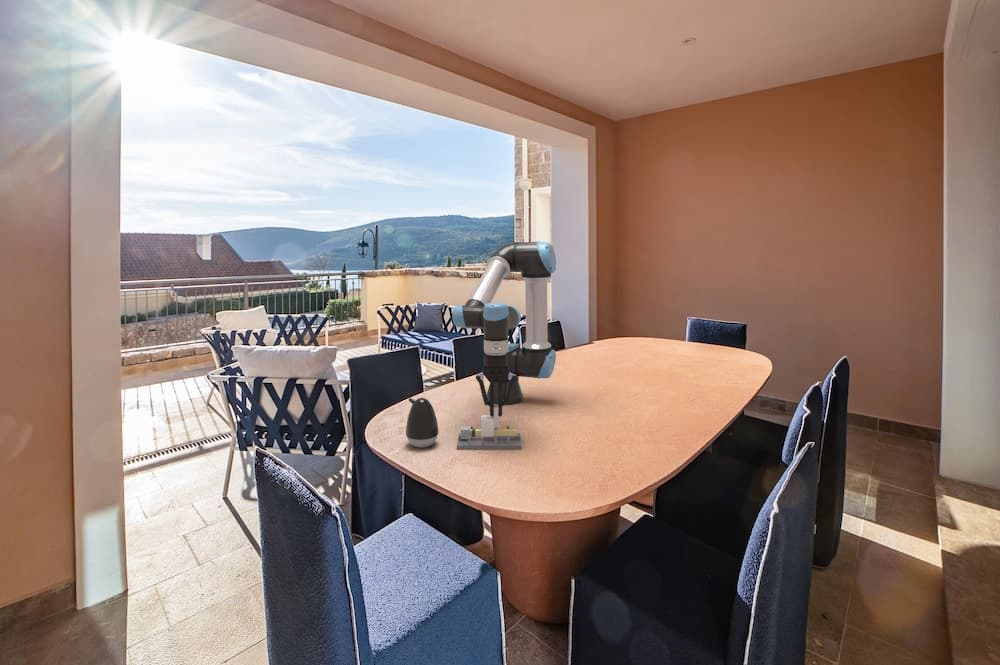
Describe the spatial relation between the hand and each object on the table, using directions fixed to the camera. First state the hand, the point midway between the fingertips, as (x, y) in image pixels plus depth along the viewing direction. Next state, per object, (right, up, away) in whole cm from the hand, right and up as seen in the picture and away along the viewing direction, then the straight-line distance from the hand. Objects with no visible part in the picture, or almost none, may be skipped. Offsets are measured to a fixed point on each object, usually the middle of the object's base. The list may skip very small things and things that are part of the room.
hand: (496, 425), depth 155 cm
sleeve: (-3, -3, 0) cm, 4 cm away
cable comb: (-2, -6, +1) cm, 6 cm away
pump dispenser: (-23, -6, -1) cm, 24 cm away
